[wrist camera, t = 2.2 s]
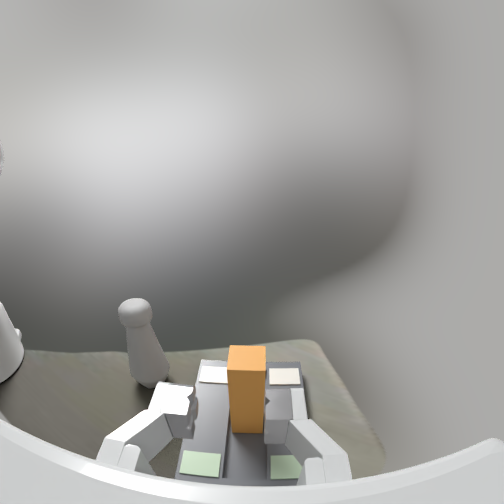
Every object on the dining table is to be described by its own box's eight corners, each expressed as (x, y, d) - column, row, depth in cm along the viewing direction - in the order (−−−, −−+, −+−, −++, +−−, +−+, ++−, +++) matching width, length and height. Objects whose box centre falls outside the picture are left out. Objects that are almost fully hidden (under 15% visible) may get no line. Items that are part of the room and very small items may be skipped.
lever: (232, 432, 29) (226, 369, 25) (234, 410, 33) (230, 345, 28) (262, 433, 29) (265, 370, 25) (262, 411, 33) (265, 346, 28)
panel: (177, 490, 22) (173, 483, 22) (202, 369, 41) (201, 358, 40) (312, 495, 22) (315, 488, 21) (298, 371, 40) (300, 360, 40)
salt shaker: (176, 388, 37) (159, 312, 32) (137, 396, 35) (111, 321, 30) (167, 362, 42) (152, 288, 37) (131, 369, 40) (110, 296, 35)
